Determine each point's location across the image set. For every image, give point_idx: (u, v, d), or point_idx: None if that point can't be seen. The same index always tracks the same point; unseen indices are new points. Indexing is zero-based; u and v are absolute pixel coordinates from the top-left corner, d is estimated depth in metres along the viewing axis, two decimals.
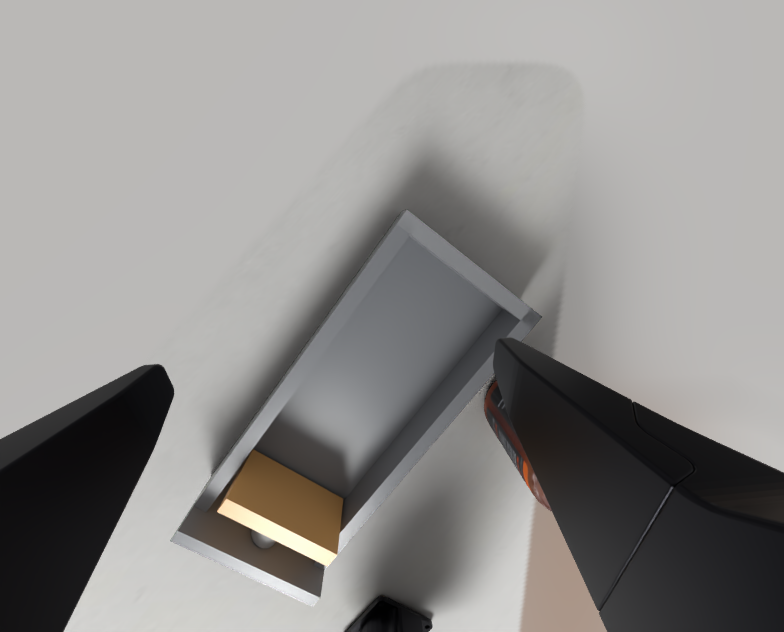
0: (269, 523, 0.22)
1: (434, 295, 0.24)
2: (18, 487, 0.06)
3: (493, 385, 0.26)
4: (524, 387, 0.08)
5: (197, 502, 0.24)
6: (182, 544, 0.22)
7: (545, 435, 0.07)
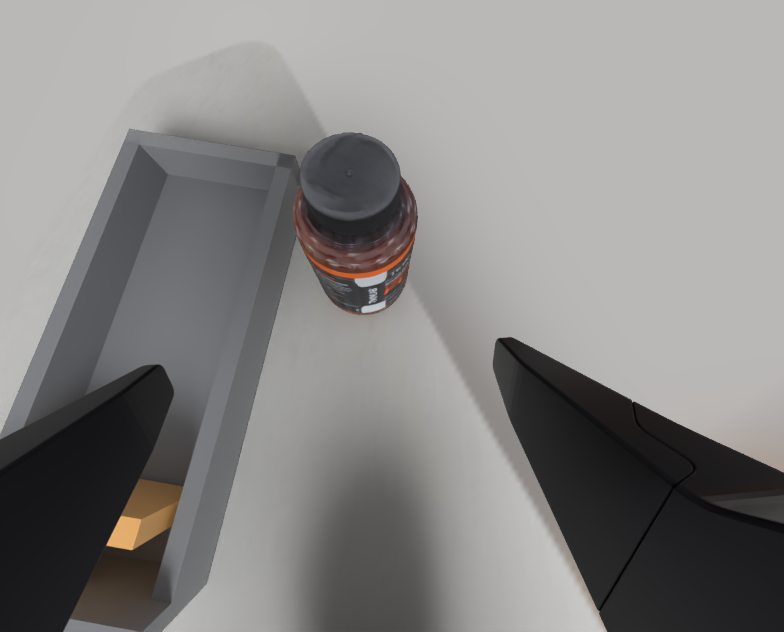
0: None
1: (217, 209, 0.24)
2: (17, 487, 0.06)
3: None
4: (524, 387, 0.08)
5: None
6: None
7: (545, 435, 0.07)
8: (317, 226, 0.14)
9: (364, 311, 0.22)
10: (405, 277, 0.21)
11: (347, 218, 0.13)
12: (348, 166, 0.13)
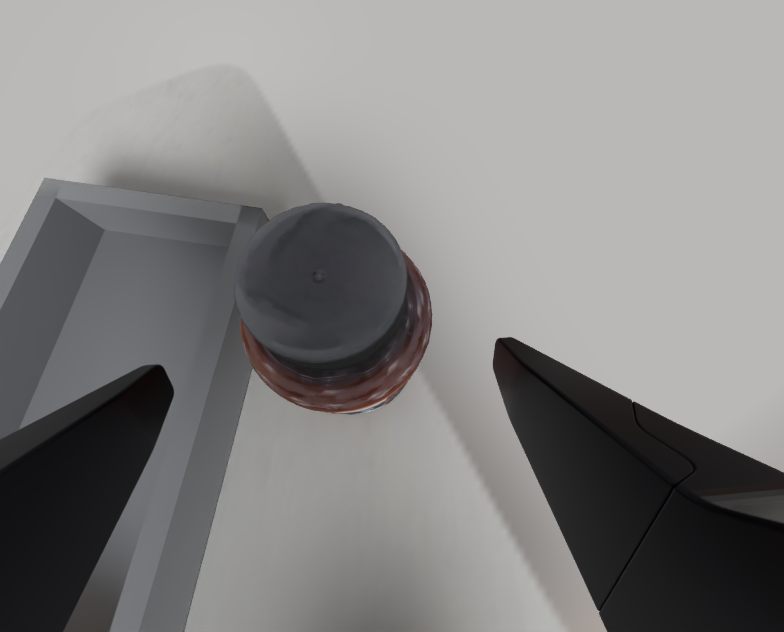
0: None
1: (165, 274, 0.19)
2: (18, 487, 0.06)
3: None
4: (524, 387, 0.08)
5: None
6: None
7: (545, 435, 0.07)
8: None
9: None
10: None
11: (315, 359, 0.07)
12: (317, 263, 0.08)
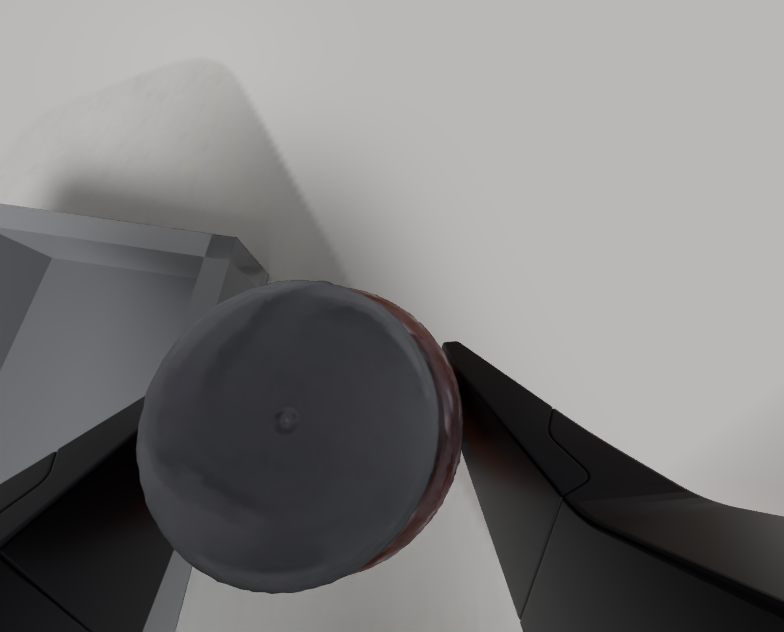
0: None
1: (123, 313, 0.15)
2: (109, 478, 0.06)
3: None
4: (460, 392, 0.08)
5: None
6: None
7: (476, 441, 0.07)
8: None
9: None
10: None
11: (277, 590, 0.04)
12: (284, 395, 0.04)
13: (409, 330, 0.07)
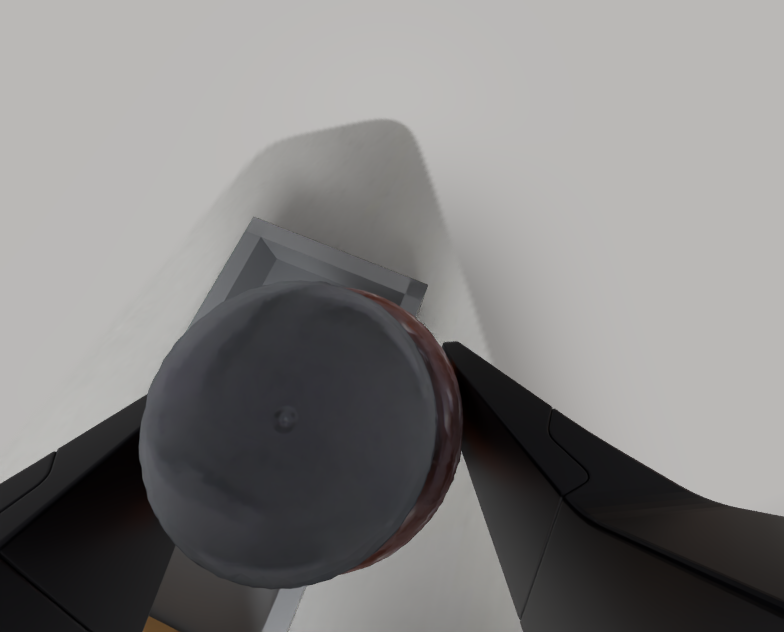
0: None
1: None
2: (109, 478, 0.06)
3: None
4: (460, 392, 0.08)
5: None
6: None
7: (476, 441, 0.07)
8: None
9: None
10: None
11: (275, 587, 0.04)
12: (283, 394, 0.04)
13: (409, 329, 0.07)
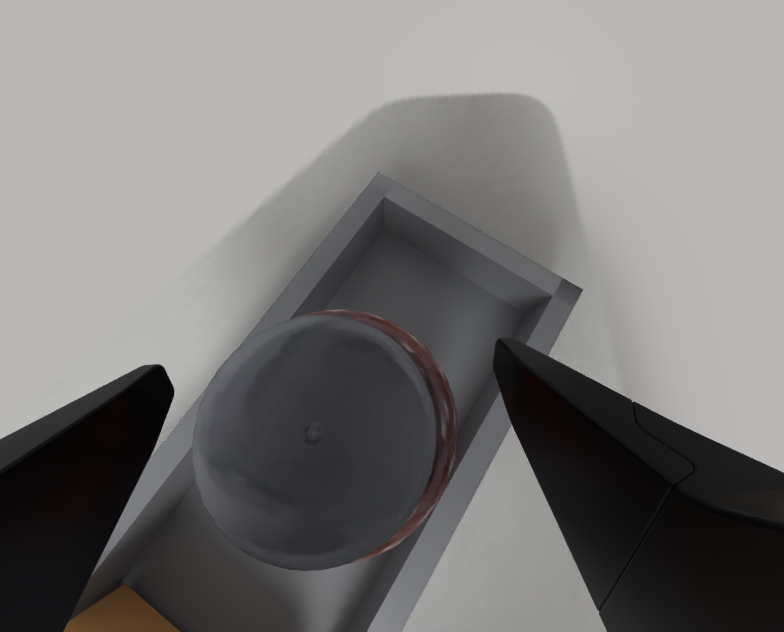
0: None
1: (428, 299, 0.18)
2: (17, 487, 0.06)
3: None
4: (524, 387, 0.08)
5: None
6: None
7: (545, 435, 0.07)
8: None
9: None
10: None
11: (309, 568, 0.05)
12: (310, 412, 0.05)
13: (410, 349, 0.08)
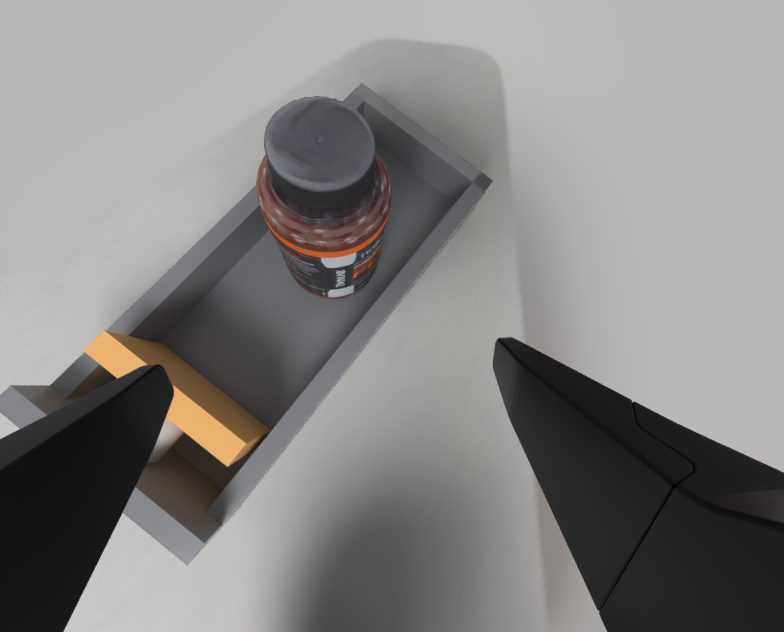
0: None
1: None
2: (17, 487, 0.06)
3: None
4: (524, 387, 0.08)
5: (58, 379, 0.17)
6: (7, 412, 0.15)
7: (545, 435, 0.07)
8: (282, 196, 0.13)
9: (331, 295, 0.21)
10: (375, 262, 0.20)
11: (315, 188, 0.12)
12: (319, 133, 0.12)
13: None
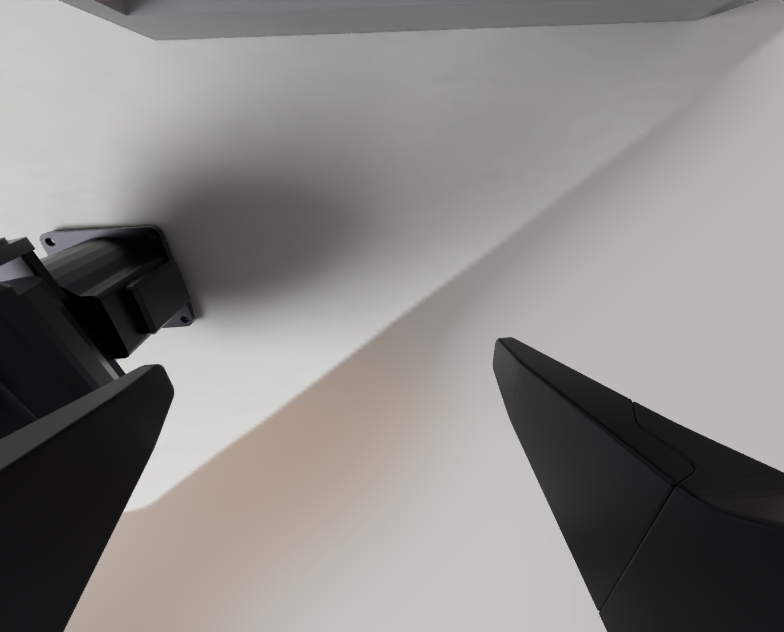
0: None
1: None
2: (18, 486, 0.06)
3: None
4: (524, 387, 0.08)
5: None
6: None
7: (545, 435, 0.07)
8: None
9: None
10: None
11: None
12: None
13: None
